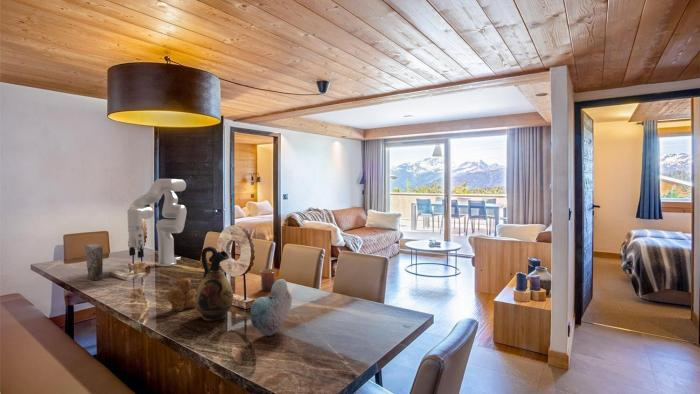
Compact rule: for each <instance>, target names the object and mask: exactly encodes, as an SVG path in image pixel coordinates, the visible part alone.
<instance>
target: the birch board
mask: <svg viewBox="0 0 700 394" xmlns="http://www.w3.org/2000/svg"><path fill="white" fill-rule="evenodd" d="M108 276H111V277H114V278H117V279H121V280H124V281H130V280H135V279H140V278H144V277H147V273H146V272H144V273H139V274H136V273H134V268H133V269H132V268H131V272H130V269H129V268H128V267H127V268H123V269H116V270H112V271H108Z"/></svg>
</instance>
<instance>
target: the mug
mask: <svg viewBox="0 0 700 394" xmlns="http://www.w3.org/2000/svg"><path fill="white" fill-rule="evenodd" d="M276 273H277V269H275V268H266V269H265V268H264V269H261V270H259V274H260V278H261V280H260V288H261V290H262V291H263V292H271V289H272V286H273V284H274V283H275V281H276Z"/></svg>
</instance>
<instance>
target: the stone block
mask: <svg viewBox="0 0 700 394" xmlns="http://www.w3.org/2000/svg"><path fill="white" fill-rule="evenodd" d="M84 247H85V256H86V267H87V275H88V276H87V279H89V280H91V281H94V282H96V281H99V280H103V270H104V269H103V266H104V263H103V260H104V259H103V257H104V256H103V253H104V252H103V251H104V250H103V245H101V244H98V243H94V244H86V245H85V246H84Z"/></svg>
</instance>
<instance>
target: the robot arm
mask: <svg viewBox="0 0 700 394" xmlns="http://www.w3.org/2000/svg"><path fill="white" fill-rule="evenodd" d="M186 188H187V183H186V181H185V180H184V179H182V178H181V179H179V178H158V179H155V181H154V182H153V183H152V184H151V186H150V188H149V190H148V191H147V192H146V193H144V194H143V195H142V196H139V197H138V198H137V199H135V200H133V202H132V203H131V205H130V206H129V208H128V209H127V212H126V213H127V230H128V241H127V243H128V249H129V251H128V253H129V255H128V256H131V257H132V256H136V249H137V258H138V259H139V258H140V259H141V258H144V257H145V254H144V253H145V252H144V250H145V235H144V229H143V228H144V227H143V220H146V219H147V220H148V219H151V218H152V217H153V216H154V213H155V212H154V210H153V208H152V207H150V206H148V205H152V204H154V203H157V202H160V200H161V198H162V197H163V196H164V202H163V205H162V211H161V215H162V216H163V218H165V219H163V218H162V219H160V220H157V222H156V225H155V227H156V232H157V238H158V239H157V240H158V241H157V244H158V262H156V263H155V266H157V267H169V266H175V265H176V264H177V261H178V260H179V261H180V260H181V259H182V258H181V256H177V257H176V256H175V250H174V249H175V245H174V244H175V242H174V240H175V239H174V237H173V235H172V234H180V233H182V232H183V231H184V228H185V223H186V218H187V207H186V206H185V205H184V204H178V203H179V197H178V195H177V194H176V193H175V192H183V191H185V190H186Z"/></svg>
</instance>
